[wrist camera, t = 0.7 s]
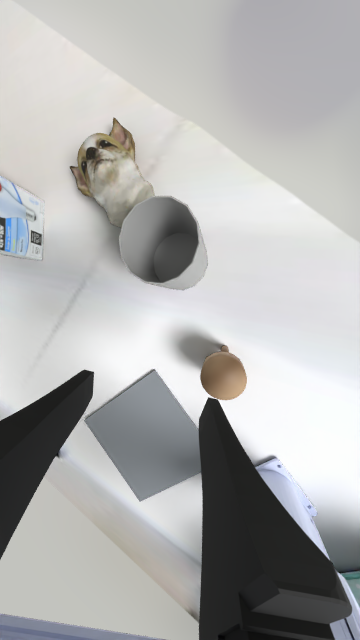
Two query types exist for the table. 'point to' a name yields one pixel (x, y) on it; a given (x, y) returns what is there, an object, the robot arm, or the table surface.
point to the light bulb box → (20, 222)
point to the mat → (148, 437)
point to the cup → (163, 244)
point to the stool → (223, 375)
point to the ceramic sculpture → (111, 173)
